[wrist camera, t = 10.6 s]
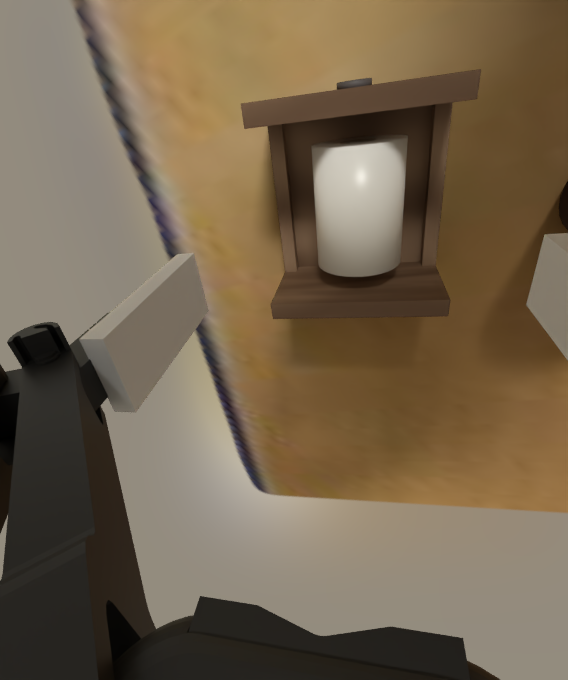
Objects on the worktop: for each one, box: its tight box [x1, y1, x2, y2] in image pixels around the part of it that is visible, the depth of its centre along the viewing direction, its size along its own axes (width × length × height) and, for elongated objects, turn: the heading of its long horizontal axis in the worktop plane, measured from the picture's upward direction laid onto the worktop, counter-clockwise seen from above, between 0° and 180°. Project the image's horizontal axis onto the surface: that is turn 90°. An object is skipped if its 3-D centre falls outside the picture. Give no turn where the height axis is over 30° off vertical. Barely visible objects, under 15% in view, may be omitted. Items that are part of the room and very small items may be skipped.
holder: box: [241, 69, 481, 319], centre depth 26 cm, size 14×12×8 cm
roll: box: [311, 135, 408, 277], centre depth 26 cm, size 8×6×6 cm
